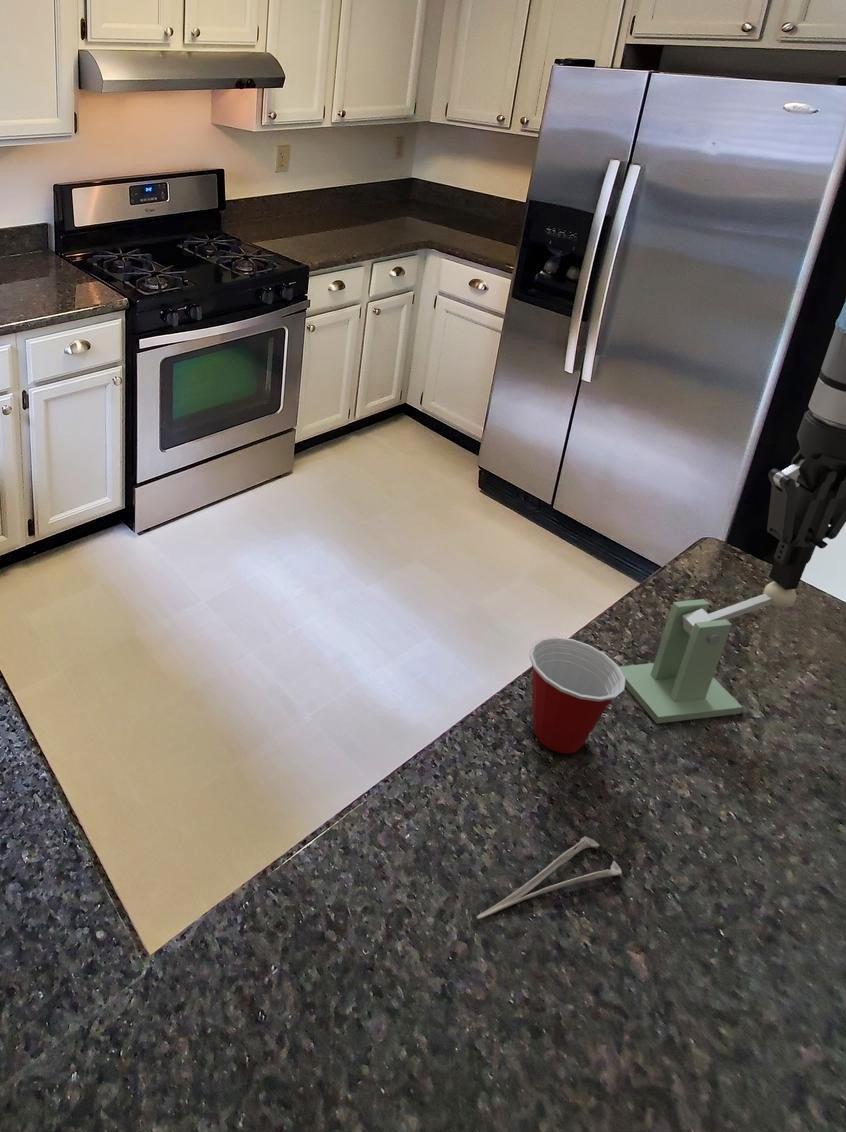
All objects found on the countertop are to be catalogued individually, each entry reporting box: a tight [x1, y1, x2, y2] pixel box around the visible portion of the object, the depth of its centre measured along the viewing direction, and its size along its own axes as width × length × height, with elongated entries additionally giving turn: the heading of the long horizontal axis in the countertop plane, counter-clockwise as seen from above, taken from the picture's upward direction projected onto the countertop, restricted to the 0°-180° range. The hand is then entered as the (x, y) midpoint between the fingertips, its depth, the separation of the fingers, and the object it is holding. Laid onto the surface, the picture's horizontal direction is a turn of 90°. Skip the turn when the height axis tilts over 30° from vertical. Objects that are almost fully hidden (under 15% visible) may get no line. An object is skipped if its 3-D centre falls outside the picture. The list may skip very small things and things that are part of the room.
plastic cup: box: [528, 636, 626, 754], centre depth 99 cm, size 11×11×12 cm
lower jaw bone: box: [476, 835, 623, 920], centre depth 84 cm, size 17×5×2 cm, turn 112°
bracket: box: [619, 598, 743, 725], centre depth 105 cm, size 12×9×14 cm
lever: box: [682, 580, 797, 636], centre depth 103 cm, size 14×3×3 cm, turn 97°
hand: (782, 582), depth 102 cm, fingers closed
